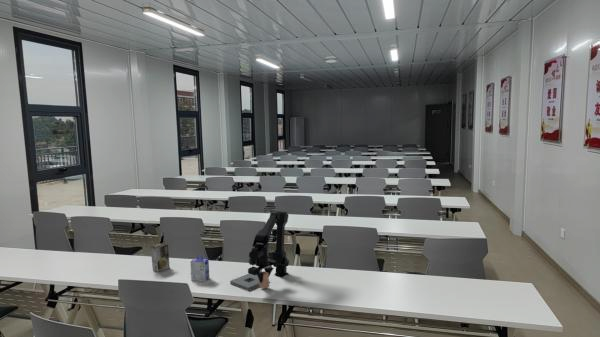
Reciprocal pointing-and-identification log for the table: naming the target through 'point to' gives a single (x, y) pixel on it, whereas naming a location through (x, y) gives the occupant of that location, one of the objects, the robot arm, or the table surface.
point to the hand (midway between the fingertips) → (263, 281)
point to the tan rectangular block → (264, 281)
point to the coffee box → (160, 257)
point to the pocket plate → (244, 284)
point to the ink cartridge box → (199, 269)
